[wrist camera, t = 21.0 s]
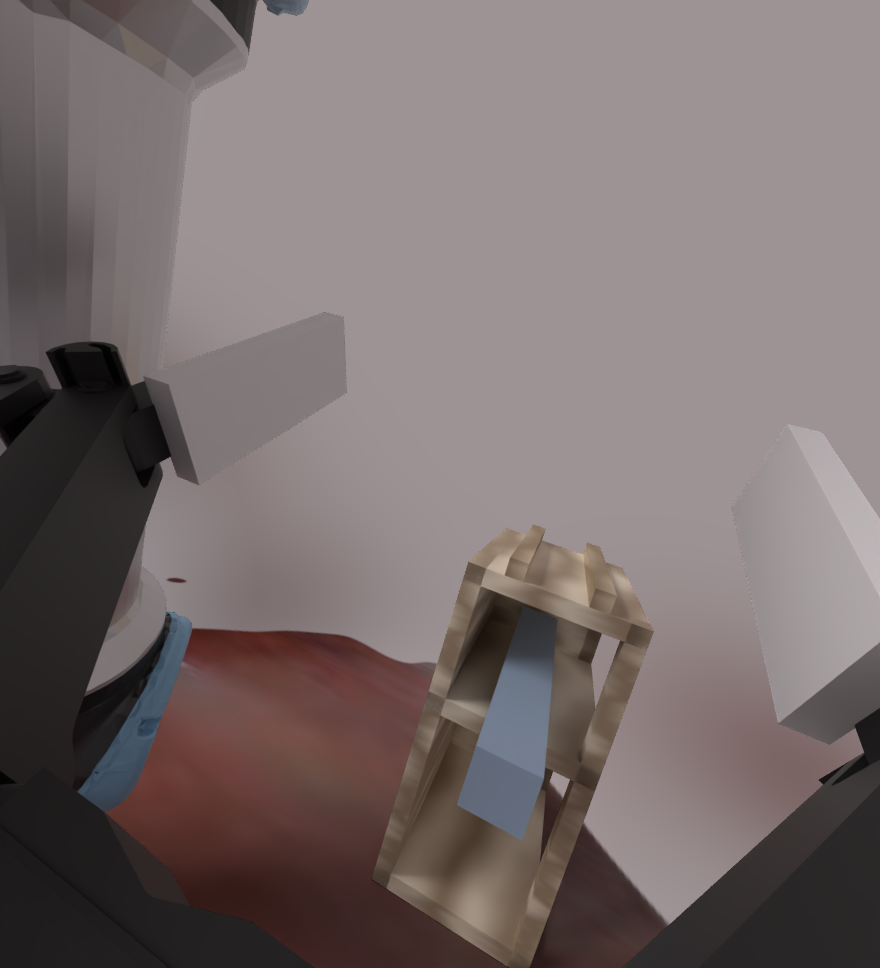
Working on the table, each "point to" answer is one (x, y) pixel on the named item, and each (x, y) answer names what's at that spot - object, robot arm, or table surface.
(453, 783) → the shelf stand
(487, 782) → the block
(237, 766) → the table surface
